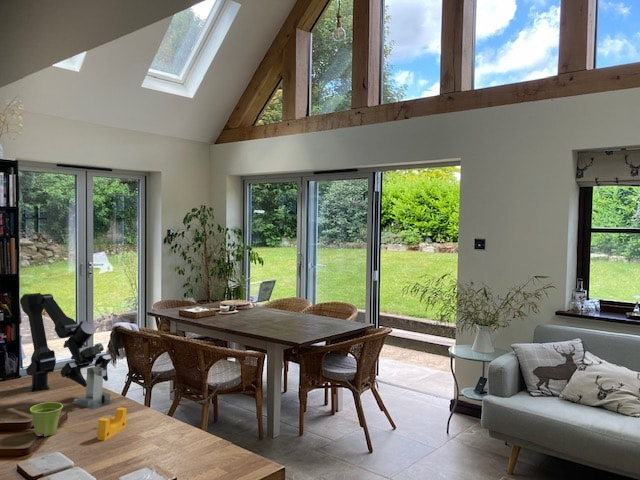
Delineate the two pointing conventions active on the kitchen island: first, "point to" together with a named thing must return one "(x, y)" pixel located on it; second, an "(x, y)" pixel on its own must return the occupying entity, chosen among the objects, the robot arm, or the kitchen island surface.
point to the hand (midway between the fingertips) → (96, 383)
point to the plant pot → (46, 417)
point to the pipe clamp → (111, 424)
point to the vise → (89, 402)
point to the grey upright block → (95, 383)
